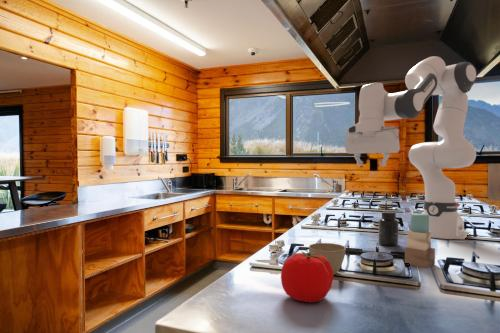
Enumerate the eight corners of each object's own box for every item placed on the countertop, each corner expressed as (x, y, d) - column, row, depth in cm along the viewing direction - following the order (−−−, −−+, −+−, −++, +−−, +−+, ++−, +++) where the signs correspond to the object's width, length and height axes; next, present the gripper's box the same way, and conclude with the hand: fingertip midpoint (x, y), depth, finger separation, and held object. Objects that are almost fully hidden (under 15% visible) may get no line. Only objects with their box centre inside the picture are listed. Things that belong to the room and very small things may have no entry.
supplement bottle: (400, 247, 126) (400, 213, 126) (380, 246, 127) (380, 213, 127) (396, 242, 133) (396, 211, 132) (377, 241, 134) (377, 210, 134)
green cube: (416, 229, 109) (416, 212, 108) (432, 231, 104) (432, 215, 104) (406, 230, 106) (407, 214, 106) (422, 233, 102) (423, 216, 102)
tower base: (415, 260, 109) (415, 244, 109) (434, 265, 104) (434, 248, 104) (404, 263, 106) (404, 247, 106) (424, 268, 101) (424, 251, 101)
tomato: (297, 313, 71) (298, 262, 71) (271, 293, 82) (272, 249, 81) (345, 303, 76) (345, 256, 76) (315, 286, 86) (315, 244, 86)
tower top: (413, 244, 109) (413, 228, 109) (430, 247, 105) (430, 231, 105) (407, 247, 105) (407, 231, 105) (425, 250, 102) (425, 233, 102)
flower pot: (346, 269, 100) (346, 244, 100) (344, 280, 91) (344, 252, 90) (311, 265, 103) (311, 241, 103) (305, 276, 94) (305, 249, 94)
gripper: (403, 126, 121) (403, 166, 121) (352, 130, 137) (352, 165, 137) (393, 124, 117) (393, 166, 117) (343, 129, 133) (342, 165, 133)
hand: (371, 165), depth 127 cm, fingers open, 8 cm apart
